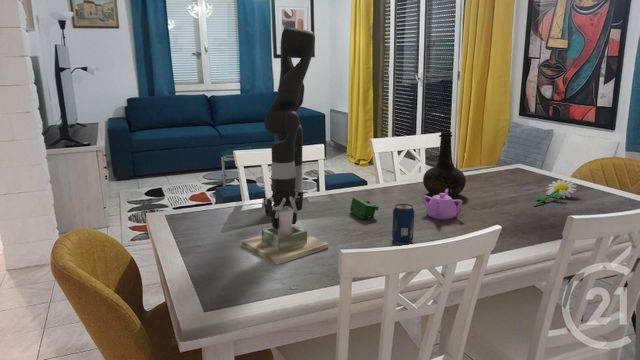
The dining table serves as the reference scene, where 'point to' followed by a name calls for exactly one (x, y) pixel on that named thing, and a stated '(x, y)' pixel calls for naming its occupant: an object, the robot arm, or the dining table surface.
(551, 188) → the decorative flower
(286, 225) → the smoothie
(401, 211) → the soda can
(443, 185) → the glass bottle
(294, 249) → the collar stand
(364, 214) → the toy dumpster
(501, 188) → the dining table surface
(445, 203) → the teapot
